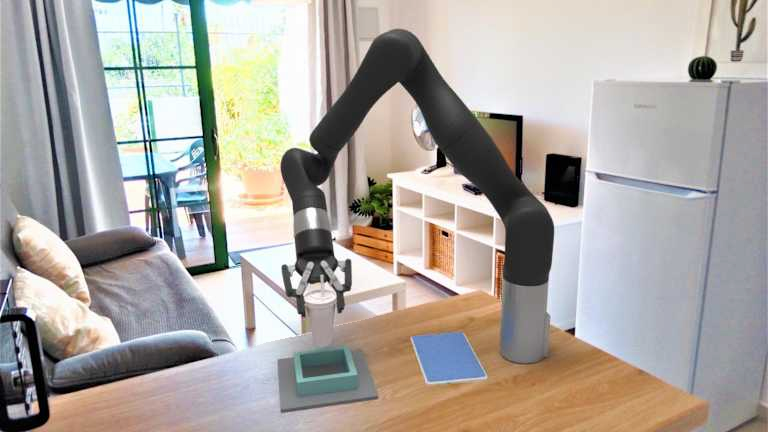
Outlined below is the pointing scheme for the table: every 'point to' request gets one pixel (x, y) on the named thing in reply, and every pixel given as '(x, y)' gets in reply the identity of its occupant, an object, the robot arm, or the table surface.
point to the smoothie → (321, 314)
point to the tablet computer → (447, 359)
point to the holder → (324, 378)
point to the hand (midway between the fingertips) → (322, 313)
